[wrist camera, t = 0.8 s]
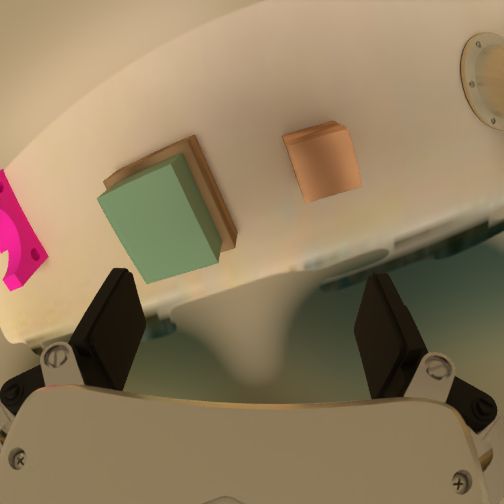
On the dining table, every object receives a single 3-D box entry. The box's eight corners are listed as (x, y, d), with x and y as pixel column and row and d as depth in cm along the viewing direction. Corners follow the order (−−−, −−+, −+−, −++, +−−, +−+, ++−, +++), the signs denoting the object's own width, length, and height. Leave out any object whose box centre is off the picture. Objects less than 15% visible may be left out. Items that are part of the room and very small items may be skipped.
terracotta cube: (333, 120, 28) (348, 128, 23) (346, 169, 31) (362, 186, 26) (282, 135, 29) (287, 146, 24) (298, 183, 32) (305, 203, 27)
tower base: (195, 133, 29) (186, 140, 26) (237, 230, 35) (235, 247, 32) (118, 170, 31) (102, 181, 28) (163, 254, 37) (154, 273, 34)
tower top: (182, 152, 27) (170, 163, 23) (222, 241, 31) (218, 263, 28) (114, 183, 28) (96, 198, 25) (157, 262, 33) (146, 284, 30)
